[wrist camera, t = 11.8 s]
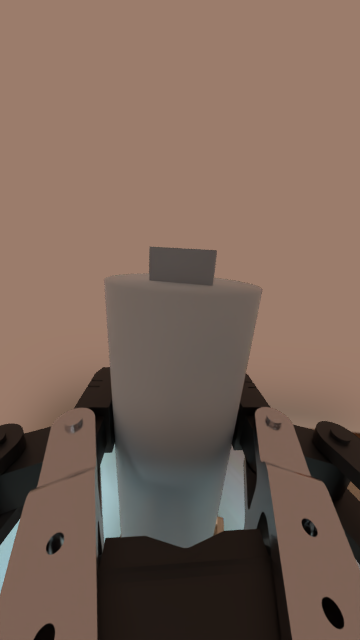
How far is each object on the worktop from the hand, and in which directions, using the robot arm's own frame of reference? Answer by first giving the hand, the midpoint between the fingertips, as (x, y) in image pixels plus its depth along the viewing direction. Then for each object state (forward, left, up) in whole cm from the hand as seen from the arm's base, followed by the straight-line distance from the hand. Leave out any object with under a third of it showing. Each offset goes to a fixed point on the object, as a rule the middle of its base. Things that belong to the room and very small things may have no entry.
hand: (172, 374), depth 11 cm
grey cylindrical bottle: (-1, +3, -7) cm, 8 cm away
